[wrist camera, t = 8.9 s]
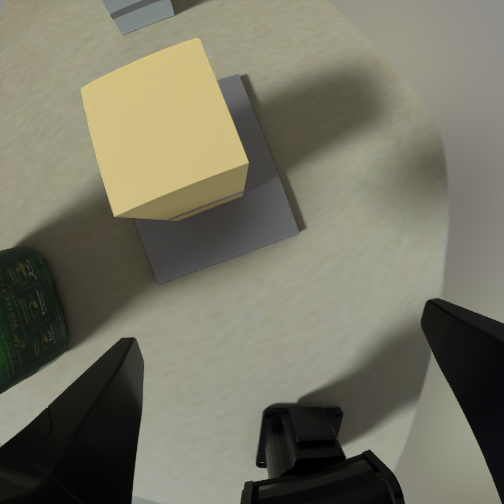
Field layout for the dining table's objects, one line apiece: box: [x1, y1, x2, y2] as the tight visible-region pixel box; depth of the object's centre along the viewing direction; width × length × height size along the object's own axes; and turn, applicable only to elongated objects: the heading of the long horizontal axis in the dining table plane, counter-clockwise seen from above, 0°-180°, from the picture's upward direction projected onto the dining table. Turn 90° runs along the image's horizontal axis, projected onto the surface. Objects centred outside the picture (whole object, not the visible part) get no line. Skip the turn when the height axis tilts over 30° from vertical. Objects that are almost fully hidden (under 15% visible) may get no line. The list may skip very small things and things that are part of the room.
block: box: [81, 37, 249, 221], centre depth 14 cm, size 5×4×11 cm
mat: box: [134, 74, 300, 285], centre depth 20 cm, size 12×10×1 cm
